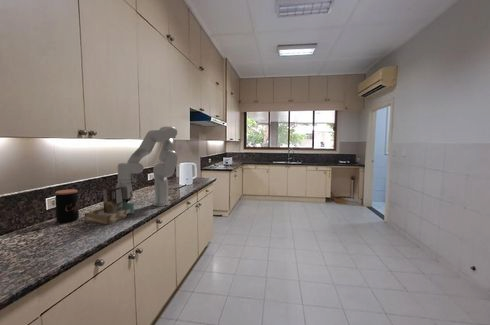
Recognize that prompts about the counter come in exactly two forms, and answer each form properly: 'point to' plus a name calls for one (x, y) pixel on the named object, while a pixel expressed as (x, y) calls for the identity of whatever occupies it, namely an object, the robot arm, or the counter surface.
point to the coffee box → (113, 200)
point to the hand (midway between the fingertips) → (124, 208)
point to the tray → (127, 206)
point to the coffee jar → (67, 206)
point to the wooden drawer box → (104, 217)
